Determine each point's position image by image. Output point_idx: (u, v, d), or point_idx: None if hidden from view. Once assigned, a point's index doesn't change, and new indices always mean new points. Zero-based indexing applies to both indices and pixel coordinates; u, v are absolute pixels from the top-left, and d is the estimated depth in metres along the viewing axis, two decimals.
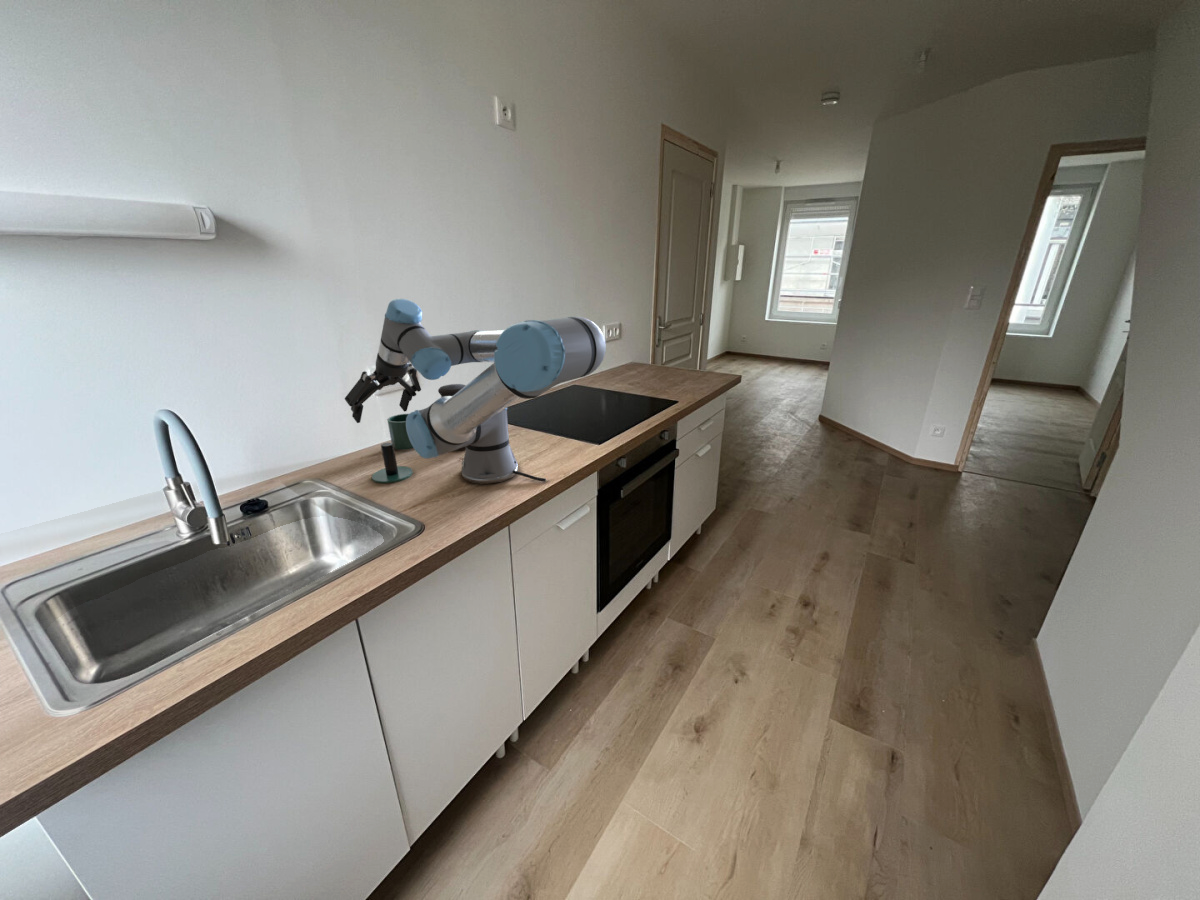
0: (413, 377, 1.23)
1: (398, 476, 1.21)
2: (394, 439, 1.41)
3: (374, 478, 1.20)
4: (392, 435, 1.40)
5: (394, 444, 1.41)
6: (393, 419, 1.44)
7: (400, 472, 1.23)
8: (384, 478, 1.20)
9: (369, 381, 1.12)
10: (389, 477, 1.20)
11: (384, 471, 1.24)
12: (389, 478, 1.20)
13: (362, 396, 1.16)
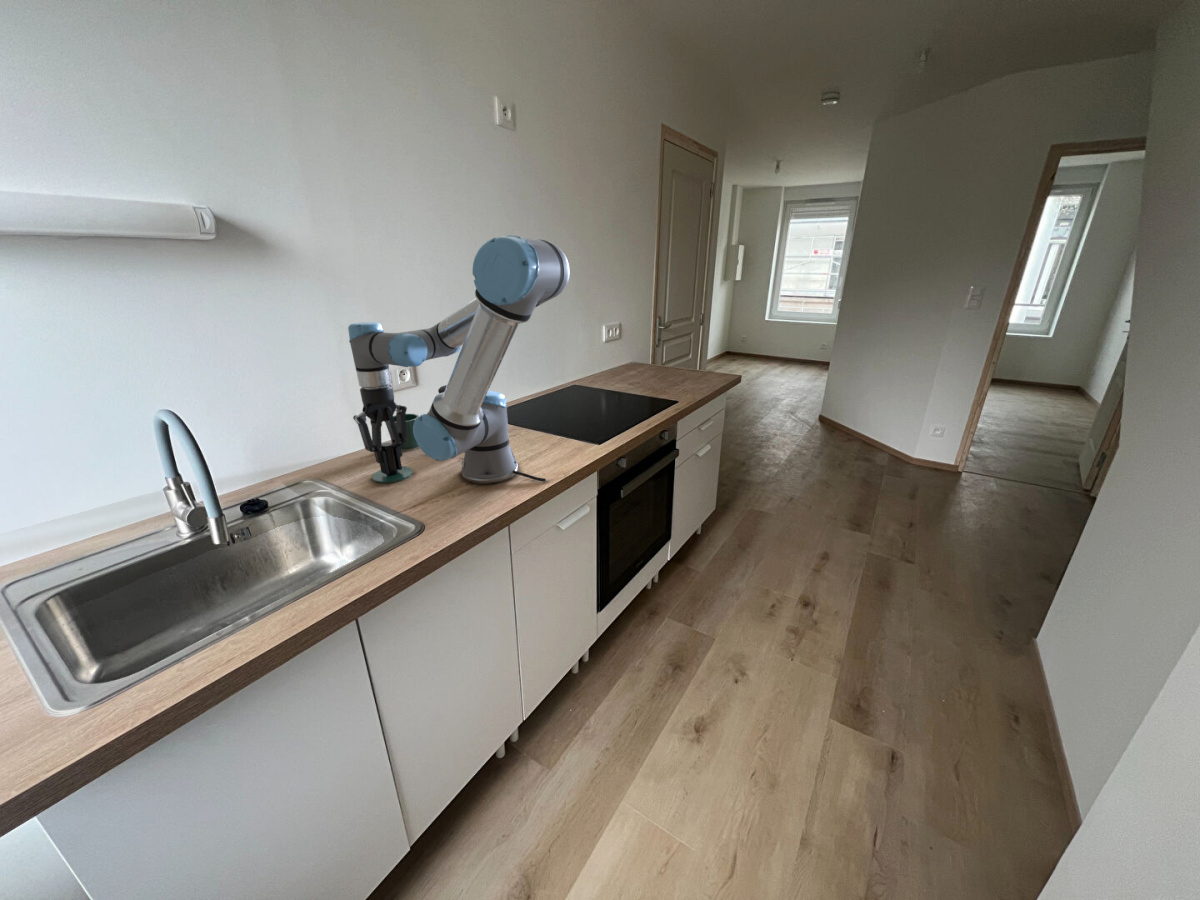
0: (402, 416, 1.20)
1: (398, 476, 1.21)
2: None
3: (374, 478, 1.20)
4: None
5: None
6: None
7: (400, 472, 1.23)
8: (384, 478, 1.20)
9: (362, 420, 1.12)
10: (389, 477, 1.20)
11: None
12: (389, 478, 1.20)
13: (375, 441, 1.16)
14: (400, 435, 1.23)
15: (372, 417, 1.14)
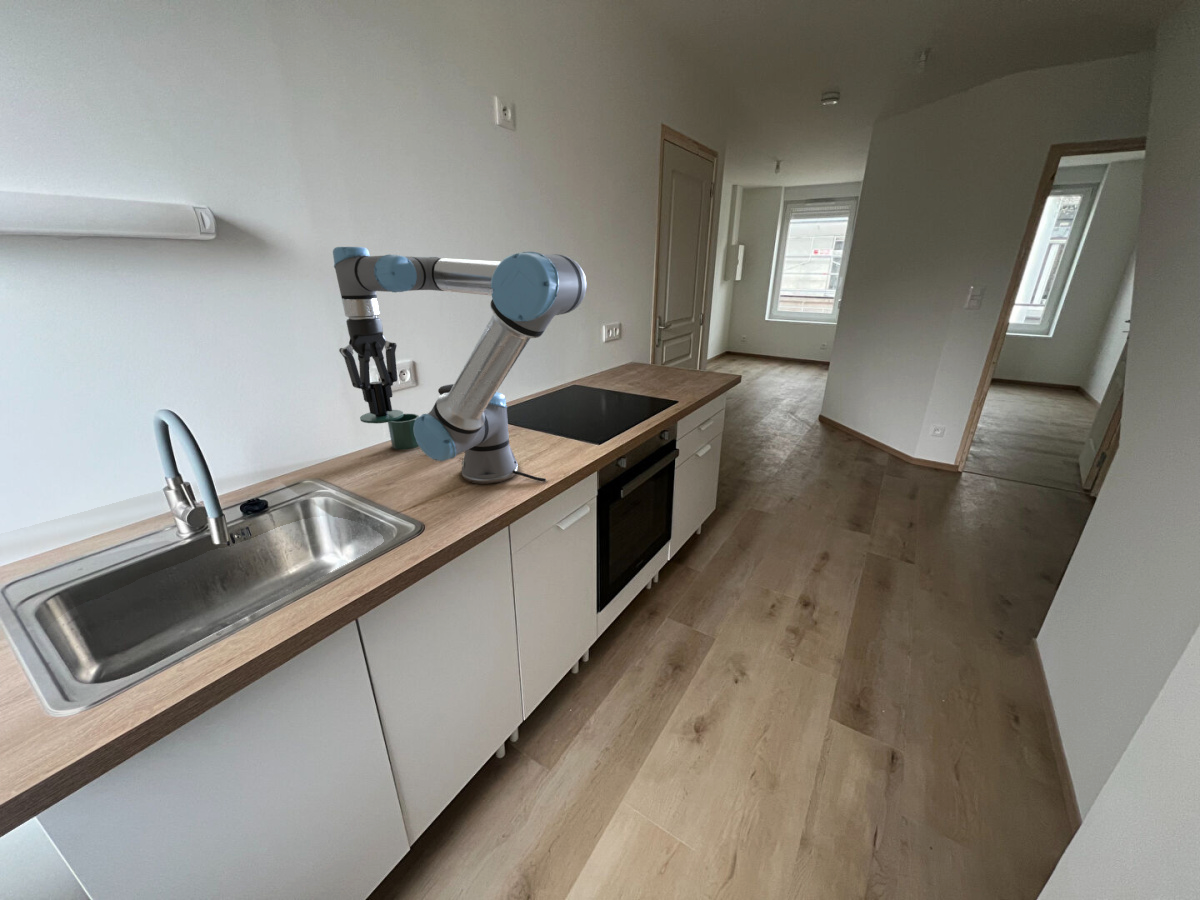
0: (392, 353, 1.14)
1: (388, 416, 1.15)
2: (394, 439, 1.41)
3: (362, 418, 1.14)
4: (392, 435, 1.40)
5: (394, 444, 1.41)
6: None
7: (390, 414, 1.17)
8: (373, 418, 1.14)
9: (349, 353, 1.06)
10: (378, 418, 1.14)
11: None
12: (378, 418, 1.14)
13: (363, 377, 1.10)
14: (390, 375, 1.17)
15: (359, 351, 1.08)
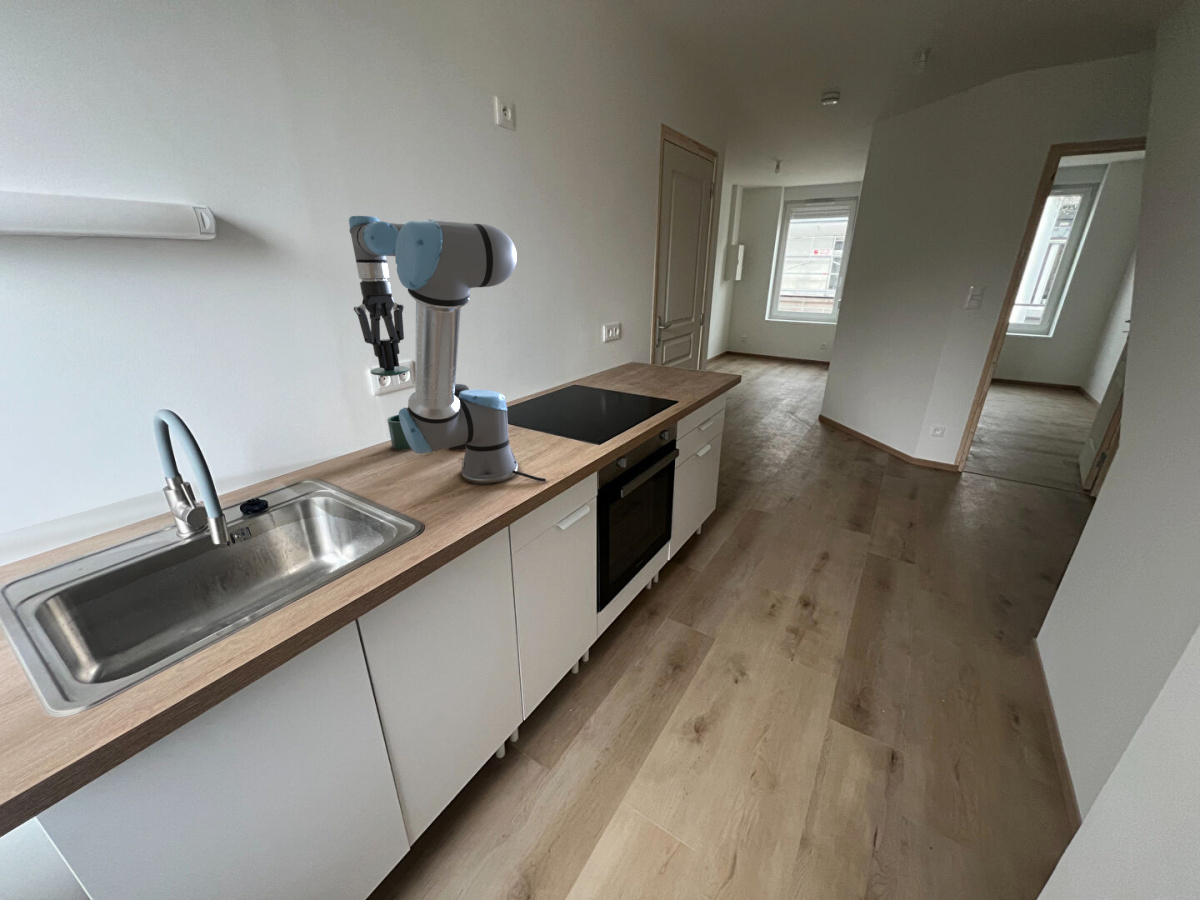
0: (399, 314, 1.28)
1: (396, 370, 1.30)
2: (394, 439, 1.41)
3: (373, 371, 1.28)
4: (392, 435, 1.40)
5: (394, 444, 1.41)
6: (393, 419, 1.44)
7: (397, 369, 1.32)
8: (382, 371, 1.28)
9: (362, 311, 1.20)
10: (387, 371, 1.29)
11: (382, 368, 1.32)
12: (387, 371, 1.28)
13: (374, 334, 1.25)
14: (397, 334, 1.31)
15: (371, 309, 1.22)
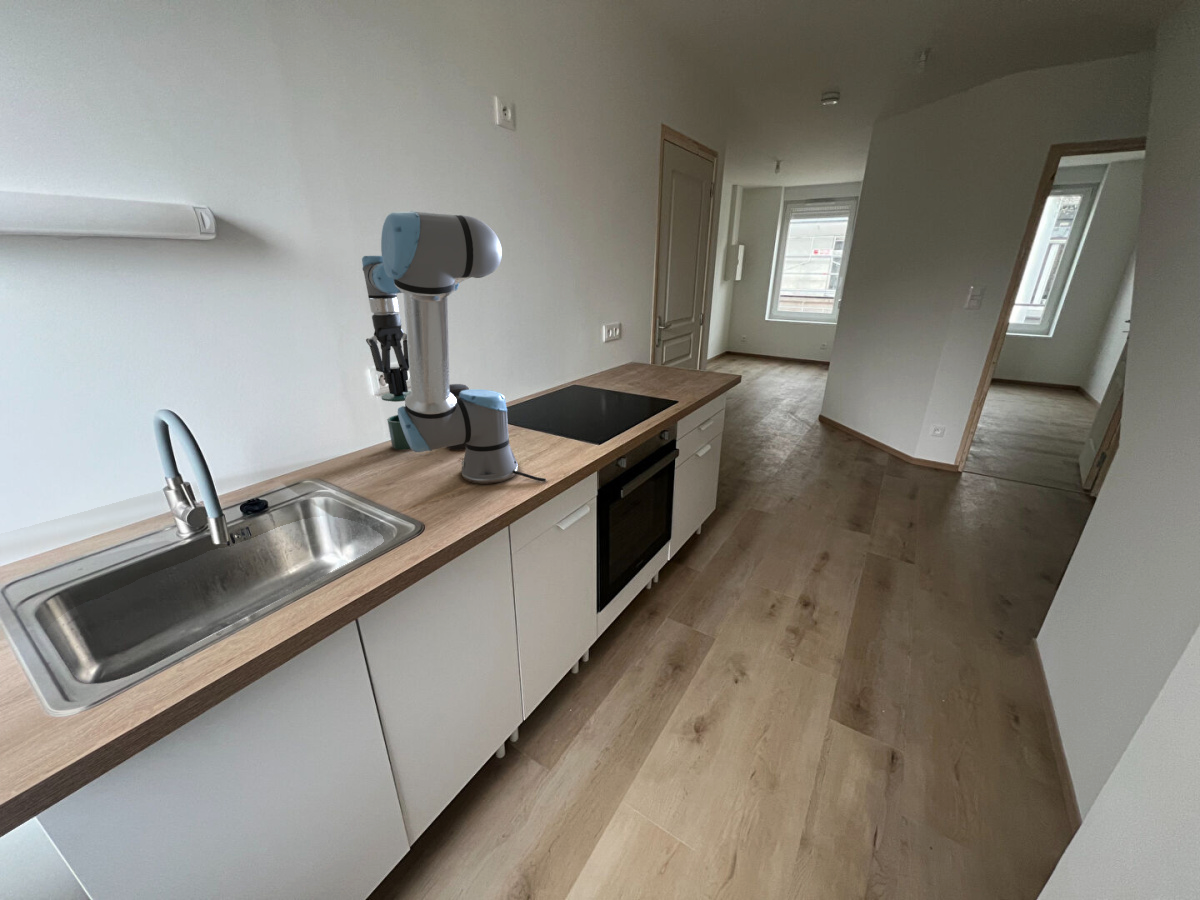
0: None
1: (405, 396, 1.38)
2: (394, 439, 1.41)
3: (383, 397, 1.37)
4: (392, 435, 1.40)
5: (394, 444, 1.41)
6: (393, 419, 1.44)
7: (406, 394, 1.40)
8: (392, 397, 1.37)
9: (374, 342, 1.29)
10: (396, 397, 1.37)
11: None
12: (396, 397, 1.37)
13: (385, 363, 1.33)
14: (406, 361, 1.40)
15: (382, 341, 1.31)
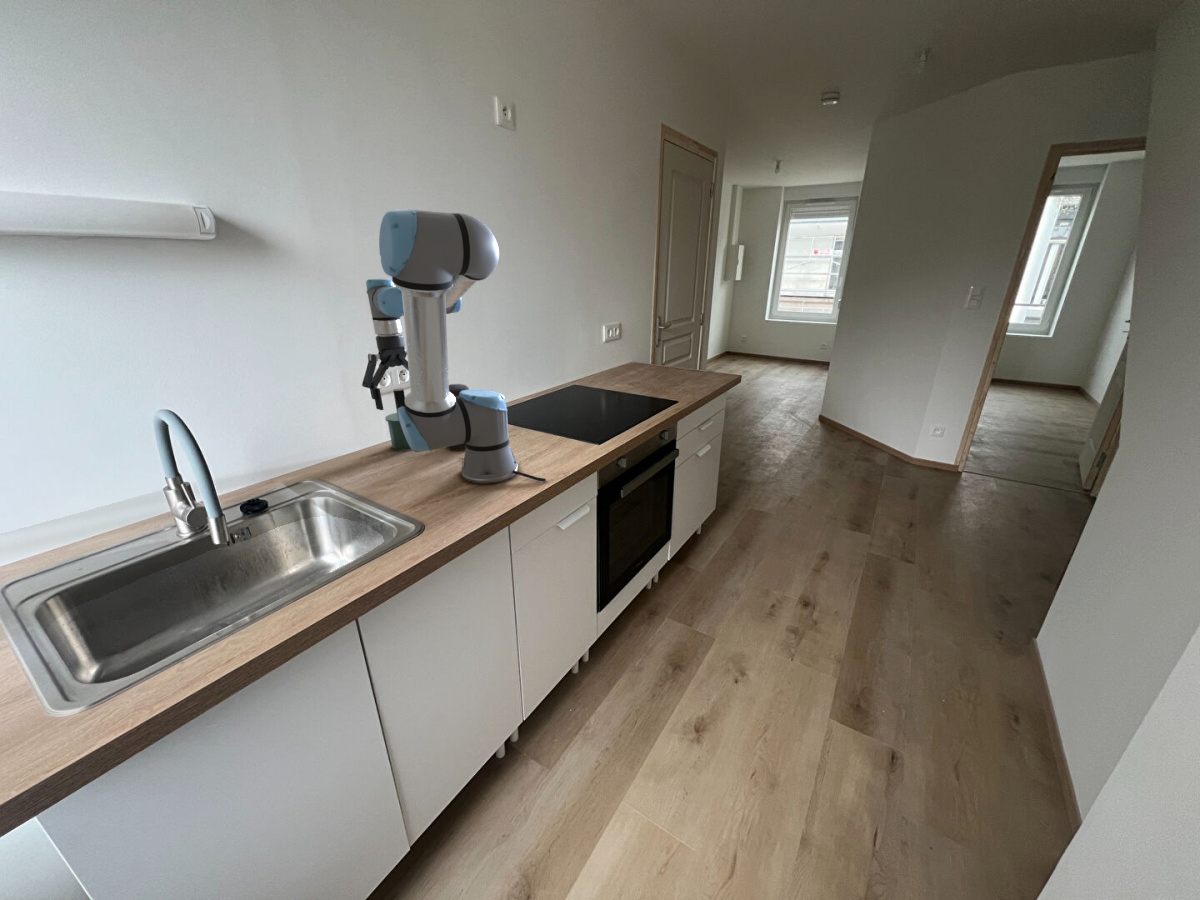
0: None
1: None
2: (394, 439, 1.41)
3: (387, 419, 1.39)
4: (392, 435, 1.40)
5: (394, 444, 1.41)
6: None
7: None
8: (396, 419, 1.39)
9: (375, 358, 1.30)
10: None
11: (395, 414, 1.43)
12: None
13: (376, 378, 1.32)
14: None
15: (386, 361, 1.33)
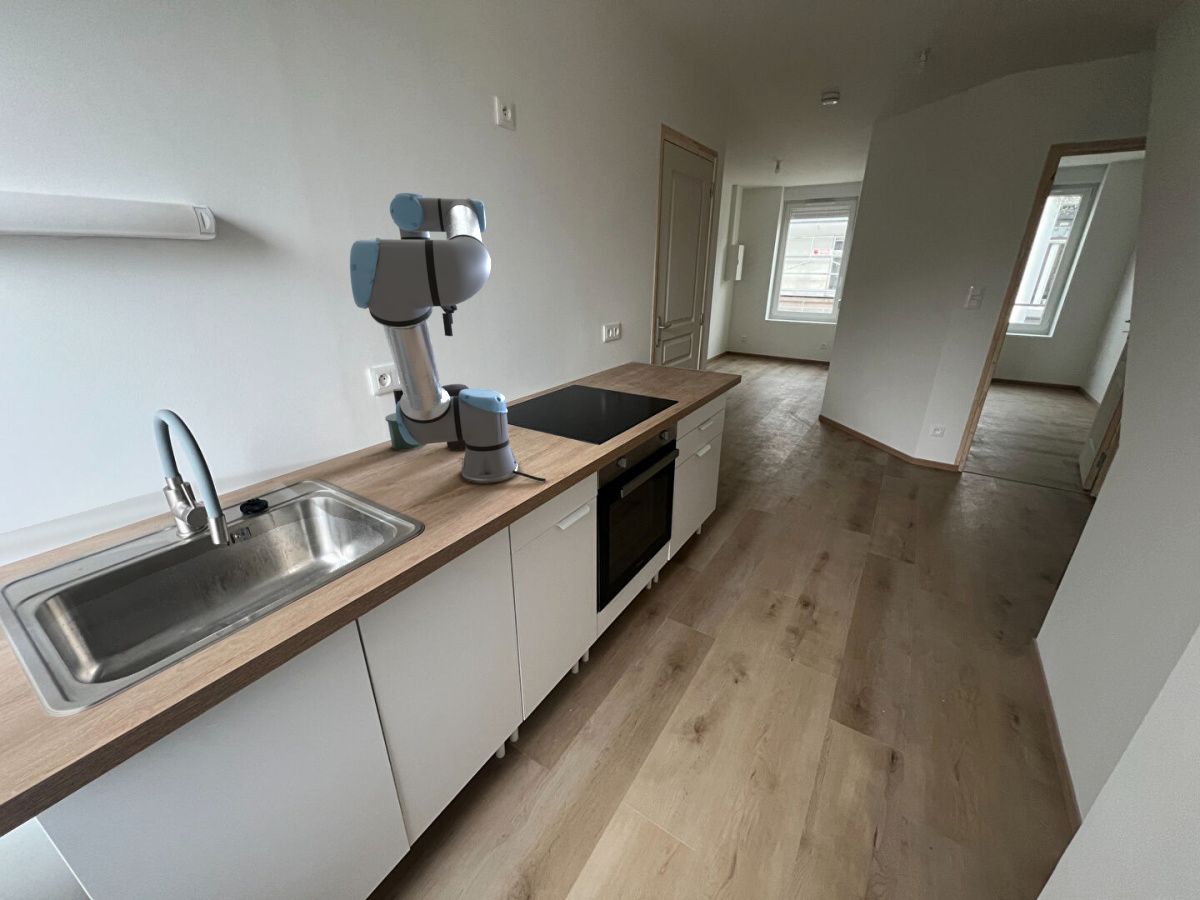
0: None
1: None
2: (394, 439, 1.41)
3: (387, 419, 1.39)
4: (392, 435, 1.40)
5: (394, 444, 1.41)
6: None
7: None
8: (396, 419, 1.39)
9: None
10: None
11: (395, 414, 1.43)
12: None
13: None
14: (449, 305, 1.35)
15: None
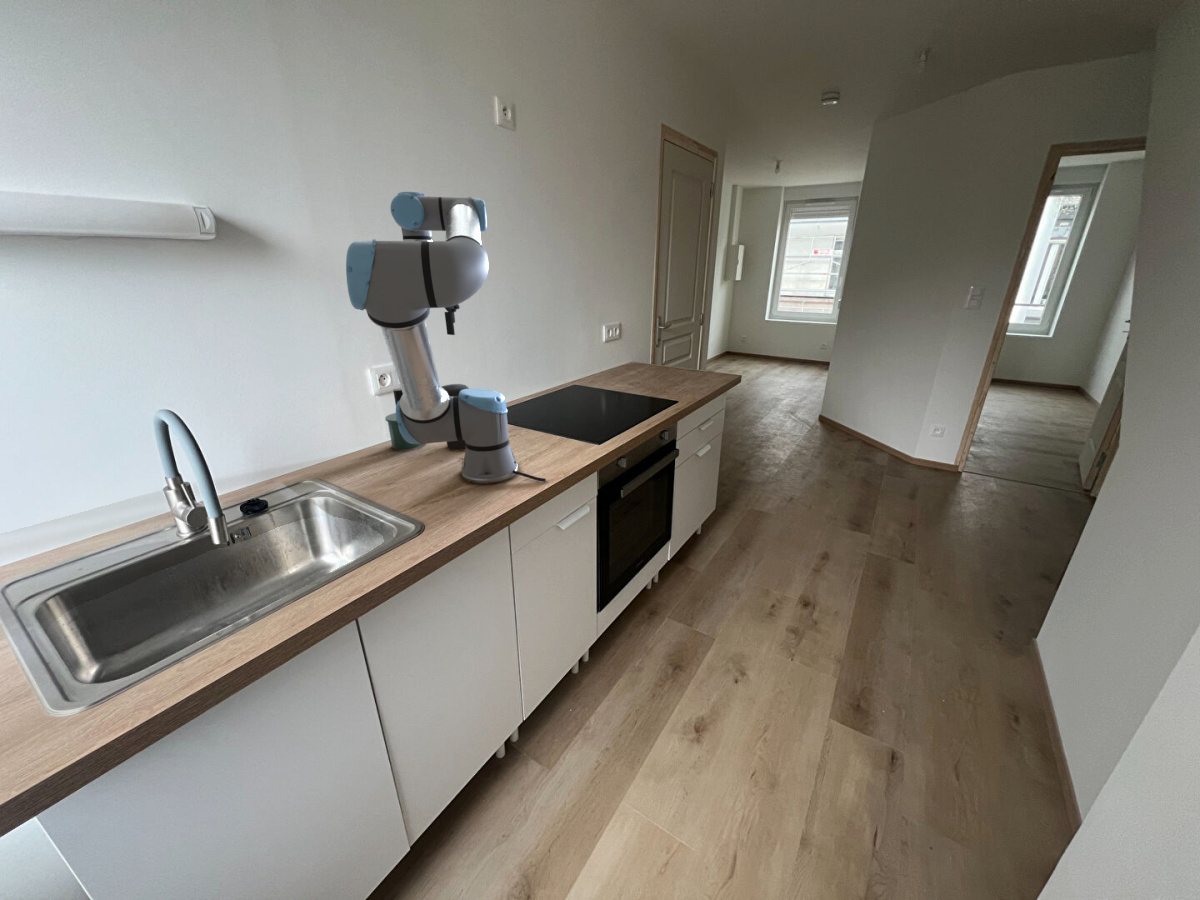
0: None
1: None
2: (394, 439, 1.41)
3: (387, 419, 1.39)
4: (392, 435, 1.40)
5: (394, 444, 1.41)
6: None
7: None
8: (396, 419, 1.39)
9: None
10: None
11: (395, 414, 1.43)
12: None
13: None
14: None
15: None
